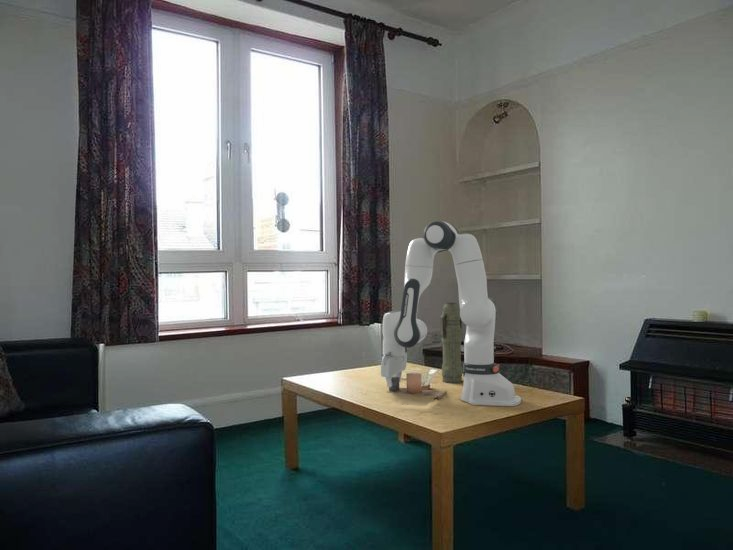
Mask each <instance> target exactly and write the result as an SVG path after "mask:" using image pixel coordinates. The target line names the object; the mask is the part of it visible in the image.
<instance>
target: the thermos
mask: <svg viewBox="0 0 733 550" xmlns="http://www.w3.org/2000/svg"><path fill="white" fill-rule="evenodd" d="M439 323H440V324H439V326H440V329H439V332H440V333H439V335H440V337H441V343H442V365H441V376H442V380H441V381H442V382H443V383H446V384H458V383H460V384H461V383H462V382H463V378H462V377H463V364H462V352H461V349H462V346H461V344H462V341H463V340H462V339H463V338H462V336H463V321H462V320H461V318H460V305H459V303H457V302H445V303H443V307H442V314H441V315H440V317H439Z"/></svg>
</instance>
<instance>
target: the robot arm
mask: <svg viewBox="0 0 733 550" xmlns="http://www.w3.org/2000/svg"><path fill="white" fill-rule="evenodd" d="M422 234H423V237H418V238H414V239H412V240H411V241H410V242H409V244H408V247H407V251H406V257H405V264H404V265H405V266H404V281H403V282H404V283H403V292H402V300H401V307H400V309H399V310H398V309H397V310H391V311H388V312H385V313H384V315H383V318H382V327H381V328H382V331H381V332H382V335H383V338H382V355H383V356H384V357H383V356H382V357H383V358H382V357H381V363H380V376H381V378H384V377H386V379H385V381H386V387H387V388H389V387H392V386H393V385H392V384H393V383H392V381H391V379H392V376H393V375H395V374H396V377H399V383H401V381H402V375H403V371H405V370H406V368H407V360H408V359H407V358H408V354H407V353H408V350H409V349H410V348H413V347H414V346H416V345H417V344H419V343H420V342H422V341H423V340H425V338H427V336H428V332H429V331H428V330H429V329H428V325H427V324H426V322H424V321H423V320H422V319H419V318H418V310H419V301H420V298H421V295H422V294H423V292H424V291H425V290H426V289H427V287H429V285H430V283H431V281H432V277H433V273H434V260H435V256H436V254H437V253H442V252H446V251H449V253H450V254H451V256H452V260H453V266H454V270H455V275H456V281H457V286H458V287H457V288H458V290H457V291H458V302H459V303H458V305H459V308H460V318H461V320H462V324H464V325H465V326H466V329H465V334H464V336H465V337H464V341H463V345H464V346H463V348H464V349H463V351H464V352H463V356H464V357H463V358H464V360H463V364H462V377H463V383H462V385H463V386H462V390H461V394H460V397H459V399H460V400H461V401H462V402H466V403H469V404H470V405H474V406H495V407H496V406H498V407H499V406H500V407H515V406H518V405H519V404H521V402H522V398H521V396H518V395H516V391H515V388H514V385H513V384H514V383H512V382H511V381H510V380H508V379H507V378H506V377H504V376H503V375H502V374H501V373H500V364H497V363H496V362H494V360H495V356H494V353H495V351H494V342H495V341H494V340H495V333H496V332H495V330H496V312H497V309H496V305H495V304H494V302H493V301H492V300H491V299H490V298H489V296H488V284H487V283H488V280H487V273H486V269H485V264H484V259H483V255H482V251H481V248H480V245H479V243H478V240H477V238H476V237H475V236H474V235H473V234H470V233H462V234H459V231H458V229H457V228H456V227H455V226H454V225H453V224H450V223H449V222H446V221H443V220H434V221H431V222H429V223H428V224H427V225H426V226H425V228H424V230H423V233H422Z"/></svg>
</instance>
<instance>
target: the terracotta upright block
mask: <svg viewBox="0 0 733 550" xmlns="http://www.w3.org/2000/svg"><path fill="white" fill-rule="evenodd" d="M422 374H423V373H421V372H408V373H406V388H407V392H408V393H420V392H422V389H423V386H422V385H423V384H422V383H423V381H422Z"/></svg>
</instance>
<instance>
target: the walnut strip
mask: <svg viewBox="0 0 733 550" xmlns="http://www.w3.org/2000/svg"><path fill="white" fill-rule="evenodd" d="M391 381H392V383H393V384H392V385H393V386H392V387H388V390H387V393H390V394H401V395H402V394H404V395H417V396H425V397H426V396H430V397H435V398H433V400H438V401H439V400H441V399H443V398H444V397H446V396H447V395H448V391H447V390H437V389H436V390H435V389H423V388H422V392H420V393H408V392H407V387H400V382H399V377H392V379H391Z"/></svg>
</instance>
